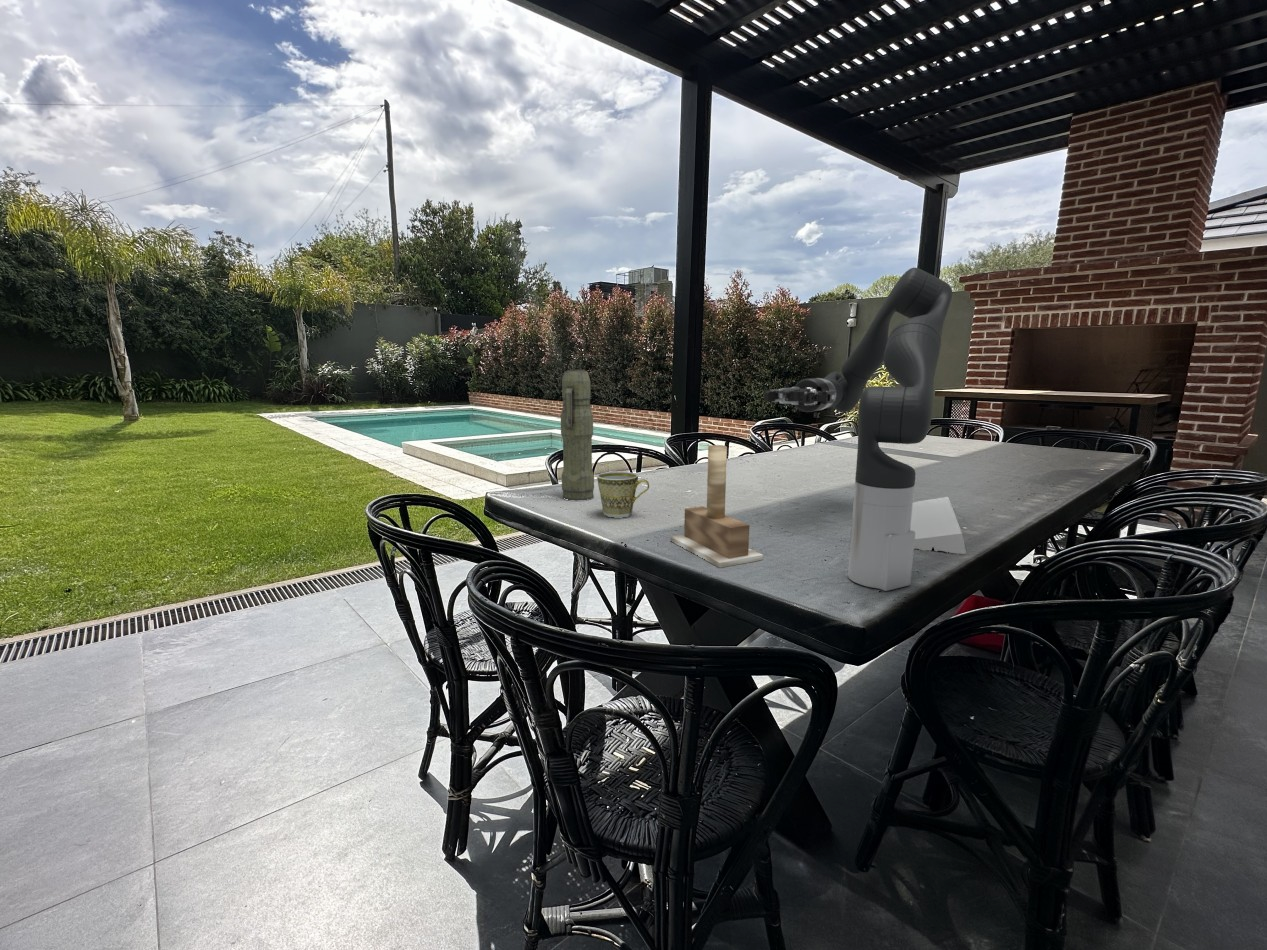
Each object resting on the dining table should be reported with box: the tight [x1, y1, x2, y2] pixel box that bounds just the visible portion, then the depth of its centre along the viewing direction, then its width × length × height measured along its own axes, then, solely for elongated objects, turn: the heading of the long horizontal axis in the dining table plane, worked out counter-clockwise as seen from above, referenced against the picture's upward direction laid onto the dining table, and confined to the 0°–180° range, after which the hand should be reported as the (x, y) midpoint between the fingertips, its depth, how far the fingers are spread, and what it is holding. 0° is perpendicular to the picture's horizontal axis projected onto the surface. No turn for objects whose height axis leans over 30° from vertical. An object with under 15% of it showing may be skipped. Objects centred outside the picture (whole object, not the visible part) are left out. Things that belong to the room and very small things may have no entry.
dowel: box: [706, 444, 728, 519], centre depth 114 cm, size 4×4×14 cm
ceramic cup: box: [596, 471, 650, 519], centre depth 142 cm, size 13×10×10 cm
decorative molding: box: [910, 496, 967, 554], centre depth 131 cm, size 34×5×10 cm
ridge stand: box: [670, 506, 764, 568], centre depth 116 cm, size 18×10×7 cm, turn 26°
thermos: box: [560, 369, 595, 501], centre depth 158 cm, size 9×12×35 cm
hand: (785, 397), depth 122 cm, fingers open, 8 cm apart
